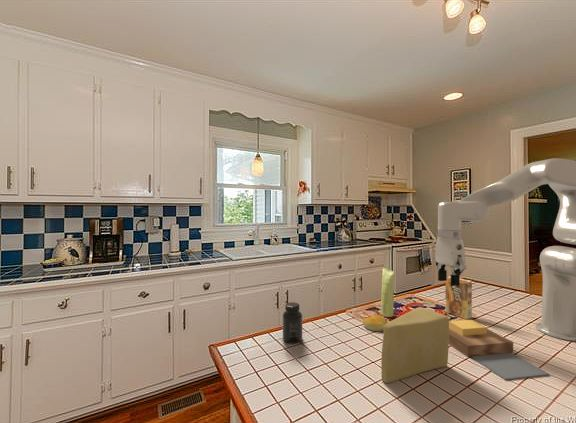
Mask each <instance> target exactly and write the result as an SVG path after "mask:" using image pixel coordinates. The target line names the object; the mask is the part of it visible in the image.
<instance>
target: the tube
mask: <svg viewBox="0 0 576 423" xmlns="http://www.w3.org/2000/svg"><path fill="white" fill-rule="evenodd" d="M381 275H382V277H381V295H380V296H381V297H380V299H381V300H380V301H381V302H380V316H382V317H387V318H392V317H393V316H394V304H395V302H394V300H395V271H394V270H391V269H388V268H385V267H382V274H381Z"/></svg>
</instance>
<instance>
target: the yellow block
mask: <svg viewBox="0 0 576 423" xmlns="http://www.w3.org/2000/svg"><path fill="white" fill-rule="evenodd" d="M449 328H451V329H452V330H454V331H456V332H457V333H459V334H461V335H462V336H466V335H478V334H487V329H488V328H487V326H485V325H483V324H481V323H479V322H477V321H476V320H473V319H463V320H461V319H460V320H451V321H450V320H449Z"/></svg>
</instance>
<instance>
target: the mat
mask: <svg viewBox="0 0 576 423" xmlns="http://www.w3.org/2000/svg"><path fill="white" fill-rule="evenodd" d="M471 358H472V359H473V360H474V361H476V362H477V363H479V364H480V365H481V366H483V367H484V368H486V369H488V370H489V371H491V372H492V373H494V374H495V375H496V376H498V377H500V378H501V379H503V380H504V381H508V380H510V381H511V380H517V379H527V378H528V379H529V378H538V377H543V376H544V377H547V376H550V373H549V372H547V371H545V370H543V369H542V368H540V367H538V366H536V365H534V364H532V363H531V362H528V360H525V359H524V358H521V357H520V356H519V355H516V354H514V352H513V353H504V354H493V355H482V356H472V357H471Z"/></svg>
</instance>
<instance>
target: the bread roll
mask: <svg viewBox="0 0 576 423" xmlns="http://www.w3.org/2000/svg"><path fill="white" fill-rule="evenodd" d="M386 323H388V321H387V319H385V318H384V316H383V315H379V314H373V315H370V316H367V317H365V318H364V319H363V320H362V324H363V326H364V328H365V329H367V330H369V331H373V332H382V331H383V332H384V326H385V324H386Z"/></svg>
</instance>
